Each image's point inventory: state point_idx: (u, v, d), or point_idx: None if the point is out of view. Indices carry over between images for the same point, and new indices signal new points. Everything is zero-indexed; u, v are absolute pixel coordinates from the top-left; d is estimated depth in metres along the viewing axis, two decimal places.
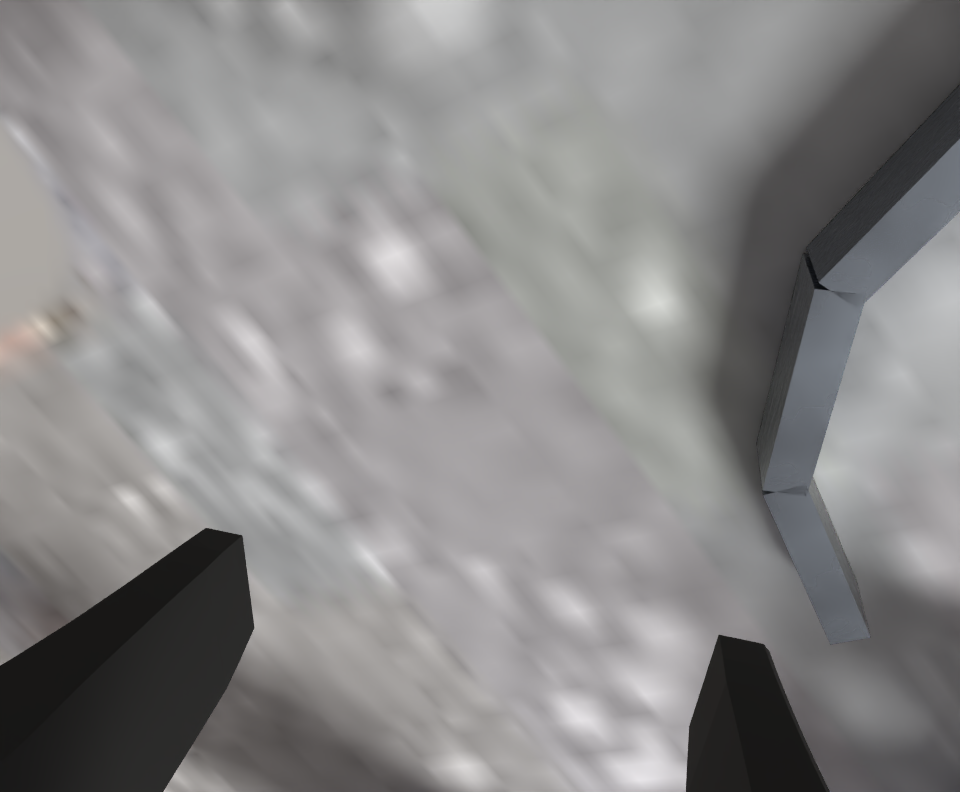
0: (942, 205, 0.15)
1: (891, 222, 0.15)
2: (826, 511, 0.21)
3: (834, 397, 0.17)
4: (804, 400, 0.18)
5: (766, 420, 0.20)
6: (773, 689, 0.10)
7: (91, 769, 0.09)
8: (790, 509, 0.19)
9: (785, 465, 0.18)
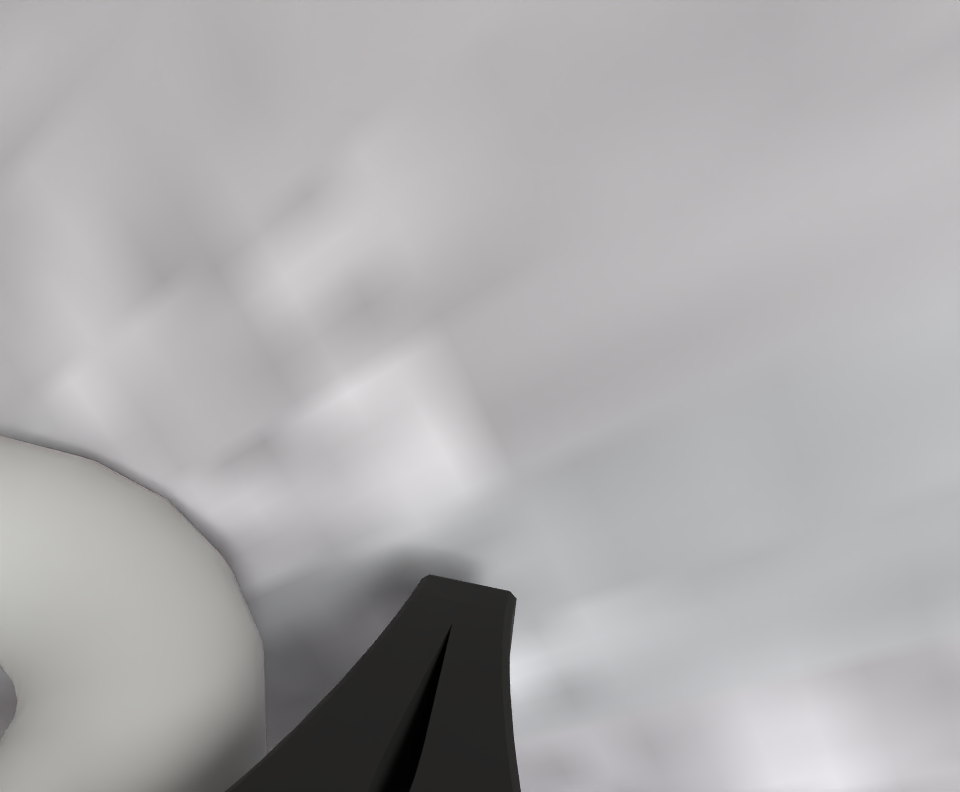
0: None
1: None
2: None
3: None
4: None
5: None
6: (496, 629, 0.10)
7: None
8: None
9: None
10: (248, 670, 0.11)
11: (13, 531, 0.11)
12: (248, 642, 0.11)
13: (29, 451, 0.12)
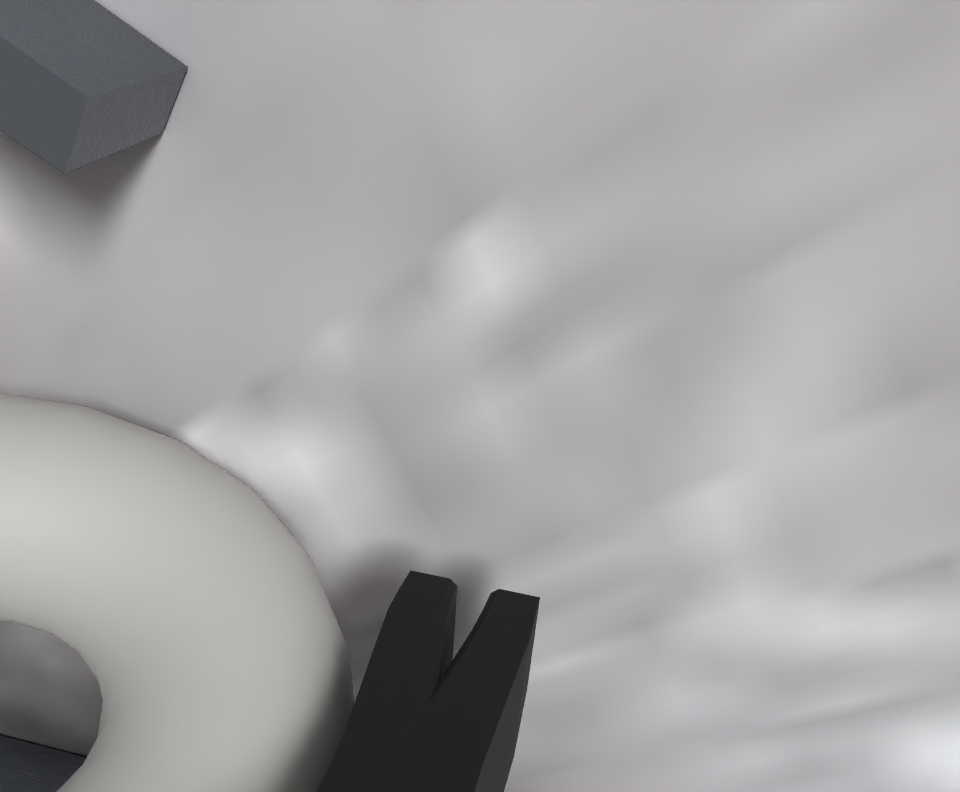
0: None
1: None
2: None
3: None
4: None
5: None
6: (431, 615, 0.10)
7: None
8: None
9: None
10: (344, 688, 0.11)
11: (107, 518, 0.11)
12: (342, 656, 0.11)
13: (120, 429, 0.12)
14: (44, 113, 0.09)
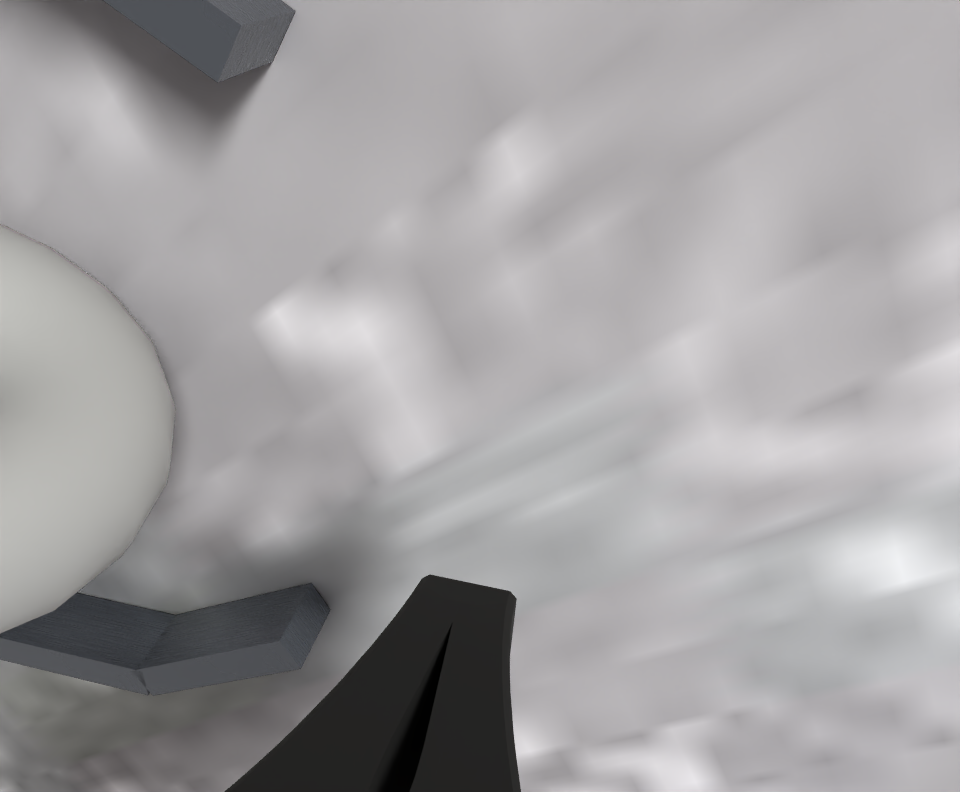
0: None
1: None
2: (229, 606, 0.22)
3: (50, 651, 0.22)
4: (61, 666, 0.22)
5: None
6: (496, 629, 0.10)
7: None
8: (158, 681, 0.22)
9: (119, 680, 0.22)
10: (164, 415, 0.15)
11: None
12: (166, 399, 0.16)
13: (12, 233, 0.16)
14: (207, 37, 0.12)
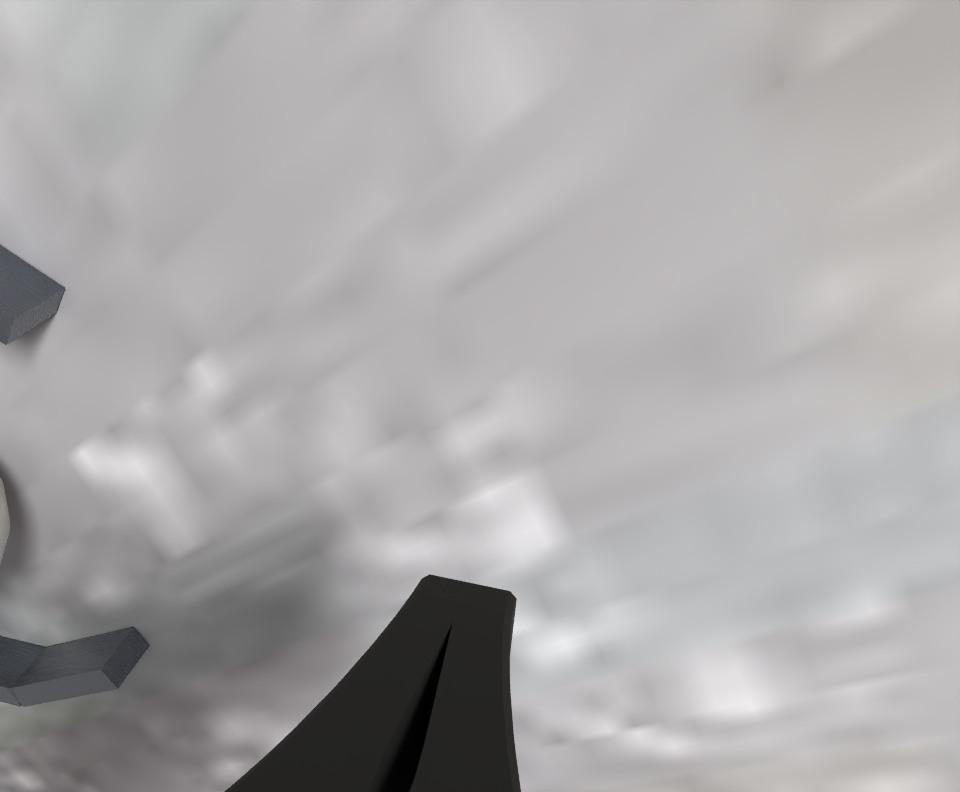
0: None
1: None
2: (80, 642, 0.31)
3: None
4: None
5: None
6: (496, 629, 0.10)
7: None
8: (25, 696, 0.30)
9: None
10: None
11: None
12: None
13: None
14: None
